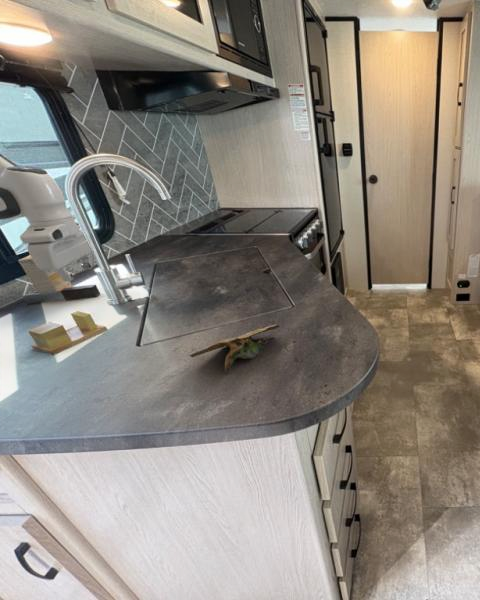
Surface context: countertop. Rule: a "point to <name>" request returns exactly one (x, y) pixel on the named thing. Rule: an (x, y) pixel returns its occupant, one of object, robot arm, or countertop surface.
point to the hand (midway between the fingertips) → (79, 274)
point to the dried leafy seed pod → (239, 347)
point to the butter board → (75, 338)
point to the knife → (63, 294)
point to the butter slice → (84, 320)
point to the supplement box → (43, 277)
